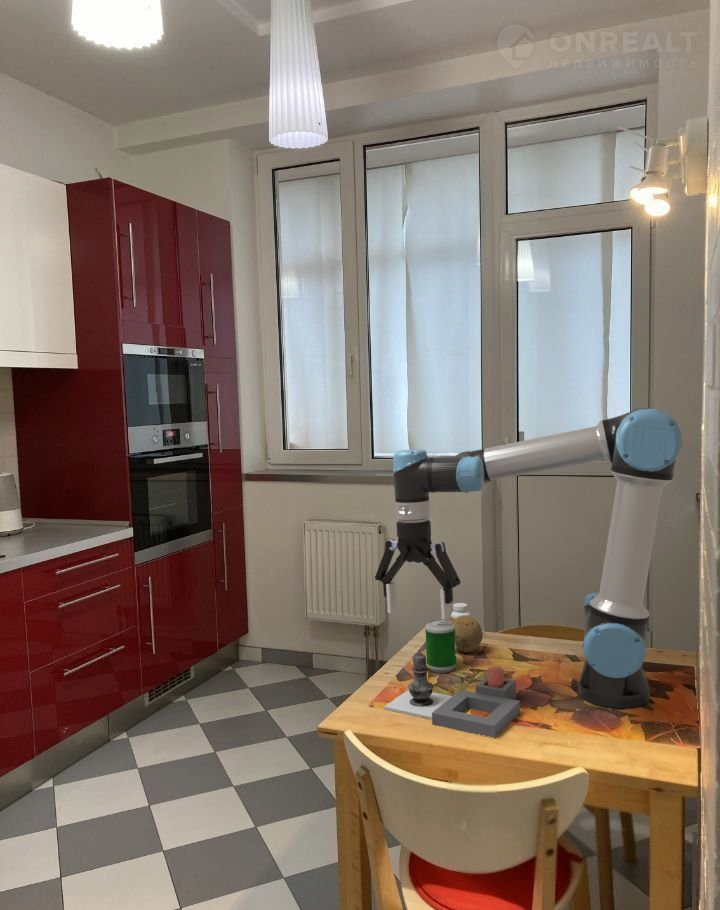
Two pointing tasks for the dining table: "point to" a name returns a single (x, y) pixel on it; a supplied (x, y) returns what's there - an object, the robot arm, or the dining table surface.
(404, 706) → the grey mat
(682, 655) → the dining table surface
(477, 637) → the brown potato
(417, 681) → the dark grey figurine
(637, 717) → the dining table surface
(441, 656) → the soda can
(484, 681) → the socket housing
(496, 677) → the plunger
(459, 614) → the supplement bottle
